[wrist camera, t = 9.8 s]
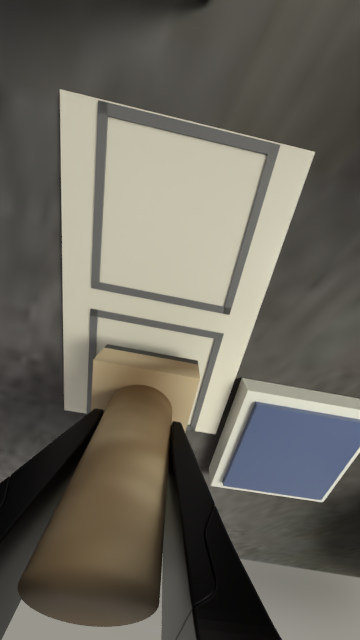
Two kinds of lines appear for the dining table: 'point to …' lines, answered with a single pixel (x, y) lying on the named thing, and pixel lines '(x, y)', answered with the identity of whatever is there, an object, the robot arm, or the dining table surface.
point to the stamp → (115, 496)
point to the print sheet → (167, 241)
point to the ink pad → (286, 441)
